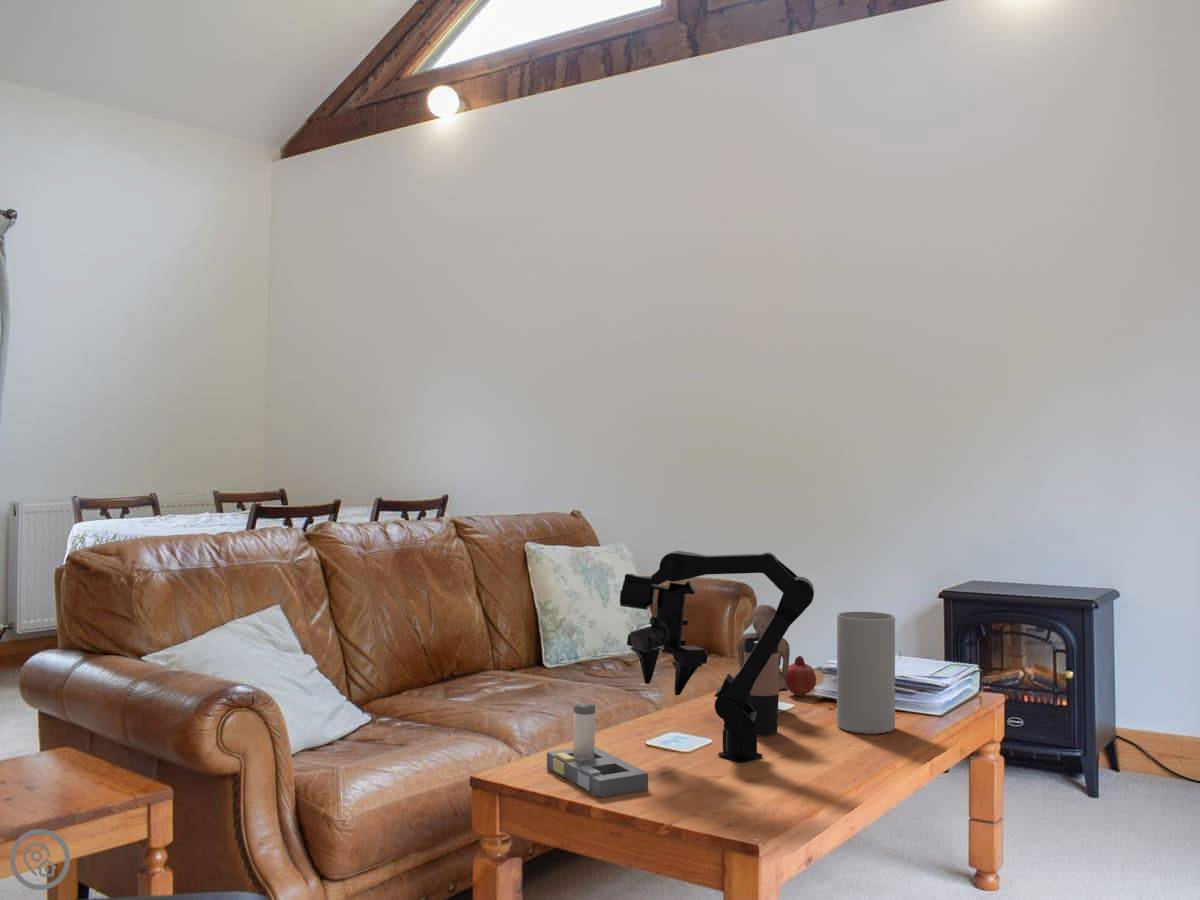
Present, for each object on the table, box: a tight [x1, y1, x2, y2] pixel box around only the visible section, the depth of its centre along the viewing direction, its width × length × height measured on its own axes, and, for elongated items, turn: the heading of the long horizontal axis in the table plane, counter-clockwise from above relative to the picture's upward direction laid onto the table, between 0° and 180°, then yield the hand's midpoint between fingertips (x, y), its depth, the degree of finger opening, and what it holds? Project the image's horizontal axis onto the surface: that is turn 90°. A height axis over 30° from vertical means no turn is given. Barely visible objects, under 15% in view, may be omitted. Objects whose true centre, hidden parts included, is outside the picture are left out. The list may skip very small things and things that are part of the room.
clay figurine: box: [737, 604, 791, 693], centre depth 255 cm, size 13×10×25 cm
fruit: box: [784, 655, 817, 696], centre depth 270 cm, size 8×8×10 cm
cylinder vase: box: [836, 611, 896, 735], centre depth 238 cm, size 12×12×25 cm
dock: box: [546, 746, 649, 798], centre depth 199 cm, size 21×10×4 cm, turn 29°
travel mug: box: [744, 638, 780, 736], centre depth 234 cm, size 8×8×20 cm
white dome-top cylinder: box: [572, 702, 596, 761], centre depth 203 cm, size 4×4×12 cm
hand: (662, 689), depth 217 cm, fingers open, 9 cm apart
